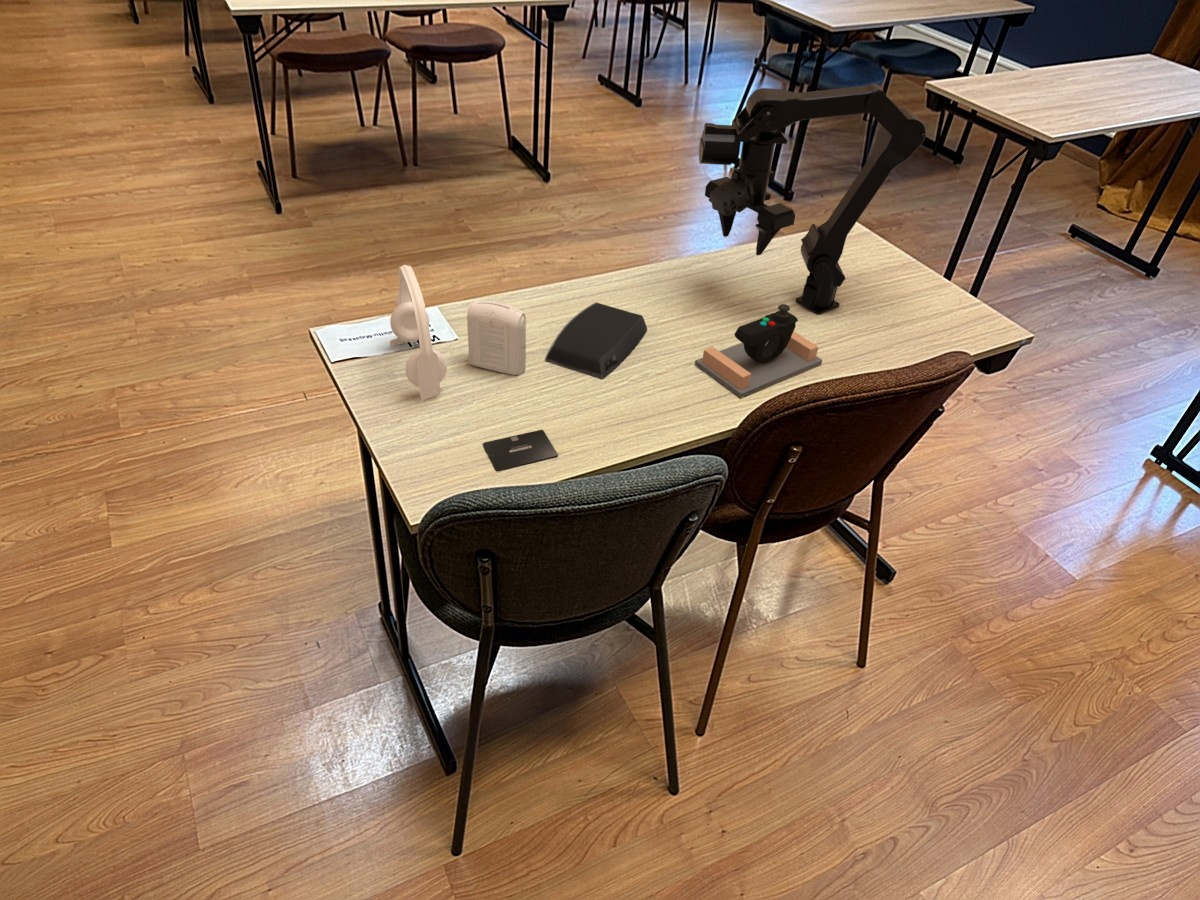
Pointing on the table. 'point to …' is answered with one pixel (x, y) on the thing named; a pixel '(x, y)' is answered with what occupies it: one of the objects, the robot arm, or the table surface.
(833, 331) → the table surface
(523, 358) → the photo printer
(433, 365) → the headset
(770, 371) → the dock
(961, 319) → the table surface
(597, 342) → the external hard drive
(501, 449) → the solid state drive
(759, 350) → the controller
